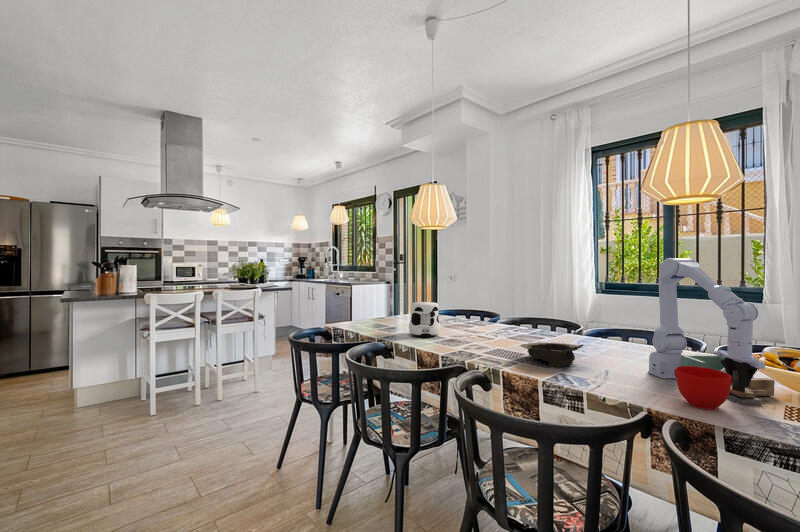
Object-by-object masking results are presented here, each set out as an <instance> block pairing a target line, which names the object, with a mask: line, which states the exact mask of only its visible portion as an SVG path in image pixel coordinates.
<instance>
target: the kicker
mask: <svg viewBox="0 0 800 532" xmlns="http://www.w3.org/2000/svg"><path fill="white" fill-rule="evenodd" d="M774 380H775V379H772V378H769V377H766V378H765V377H754V378H752V379H751V381H750V384H749V386H748V388H741V387H740V386H739V376H738V371H737V369H733V375H732V386H731V389H730V393H731V394H734V395H736V396H739V397H755V398H756V397H763V396H764V397H774V396H775V383H776V382H775V381H774Z"/></svg>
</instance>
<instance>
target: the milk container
mask: <svg viewBox="0 0 800 532" xmlns="http://www.w3.org/2000/svg"><path fill="white" fill-rule="evenodd" d="M408 330H409V331H408V332H409V333H410V334H411V335H412V336H414V337H420V338H424V337H425V338H431V337H435V336H438V335H439V333H440V331H441V325H440V321H439V303H437V302H431V301H416V302H415V301H414V302H411V303H410V319H409V324H408Z"/></svg>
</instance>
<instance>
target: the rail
mask: <svg viewBox="0 0 800 532" xmlns="http://www.w3.org/2000/svg"><path fill="white" fill-rule="evenodd" d="M726 400H729V401H732V402H734V403H736V404H738V405H742V406H762V404H763V400H762V399H761V398H757V397H756V396H755V397H739V396H736V395H734V394H731V393H729V396H728V398H727V399H726Z"/></svg>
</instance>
